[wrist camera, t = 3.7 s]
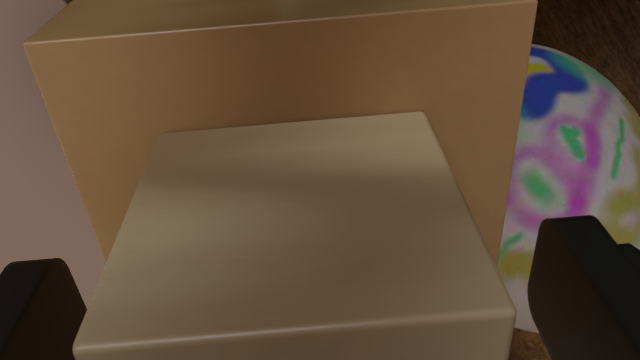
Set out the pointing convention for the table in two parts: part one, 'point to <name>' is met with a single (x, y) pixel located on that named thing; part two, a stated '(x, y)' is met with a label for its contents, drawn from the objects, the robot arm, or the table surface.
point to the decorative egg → (568, 163)
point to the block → (299, 251)
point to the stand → (281, 82)
